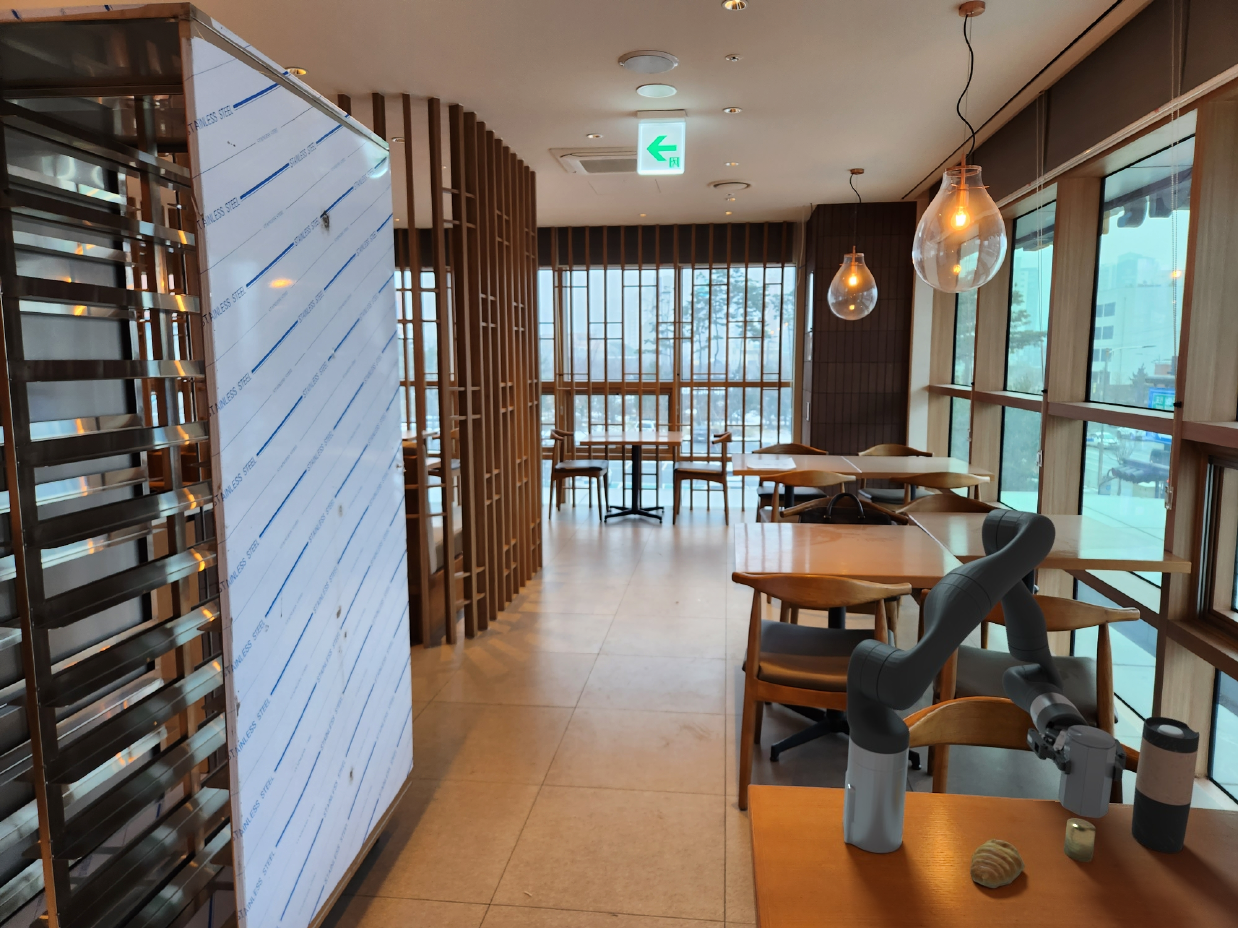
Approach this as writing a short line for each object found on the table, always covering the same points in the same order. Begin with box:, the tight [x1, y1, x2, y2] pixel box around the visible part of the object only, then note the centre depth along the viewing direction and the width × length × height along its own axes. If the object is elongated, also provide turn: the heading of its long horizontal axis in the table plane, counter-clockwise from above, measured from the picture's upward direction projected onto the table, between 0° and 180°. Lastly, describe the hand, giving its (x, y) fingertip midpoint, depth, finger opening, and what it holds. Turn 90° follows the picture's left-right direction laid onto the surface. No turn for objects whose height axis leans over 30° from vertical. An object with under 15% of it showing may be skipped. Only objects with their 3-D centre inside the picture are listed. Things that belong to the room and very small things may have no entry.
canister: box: [1057, 725, 1117, 819], centre depth 126 cm, size 6×6×12 cm
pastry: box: [970, 838, 1026, 889], centre depth 123 cm, size 9×7×4 cm
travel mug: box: [1131, 716, 1200, 854], centre depth 130 cm, size 8×8×20 cm
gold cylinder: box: [1063, 817, 1097, 863], centre depth 128 cm, size 4×4×5 cm
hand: (1093, 772), depth 123 cm, fingers closed on canister, 6 cm apart
